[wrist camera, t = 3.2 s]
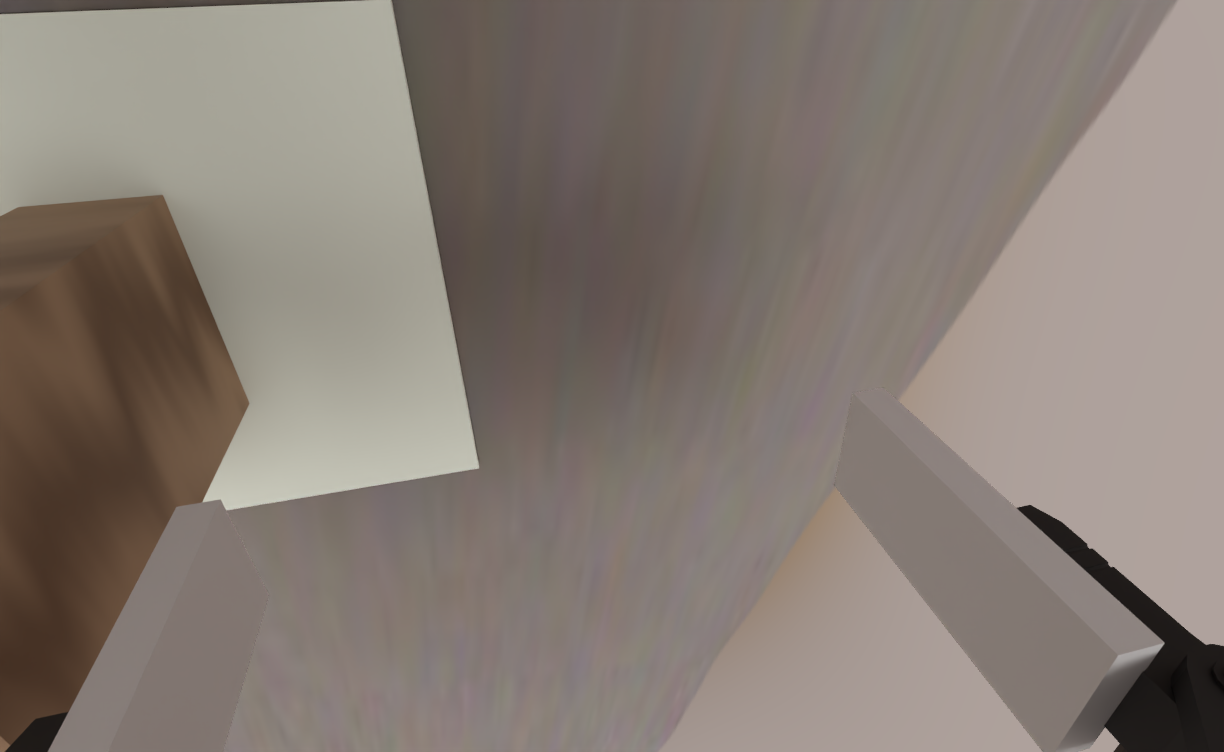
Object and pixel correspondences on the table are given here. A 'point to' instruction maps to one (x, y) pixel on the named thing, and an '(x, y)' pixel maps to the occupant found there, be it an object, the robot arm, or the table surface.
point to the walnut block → (95, 429)
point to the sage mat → (265, 217)
